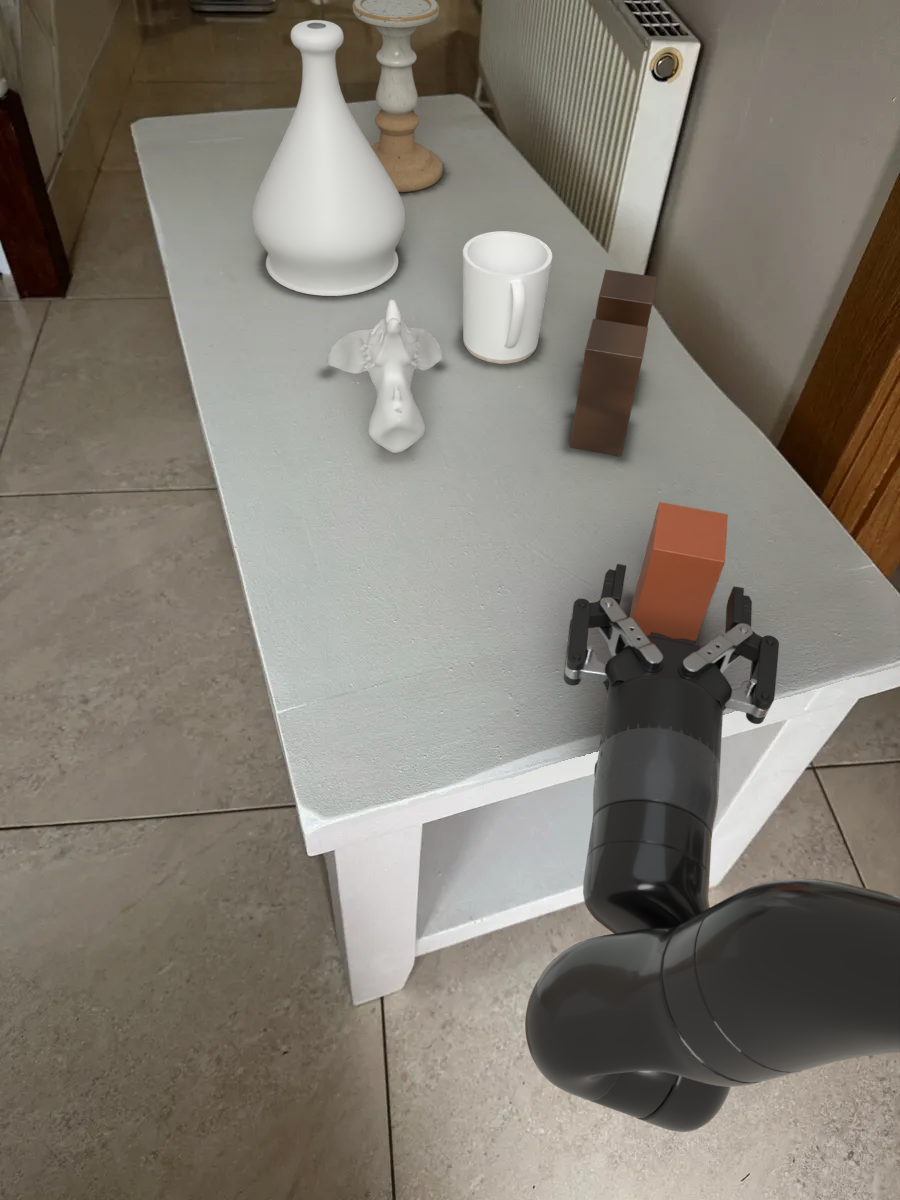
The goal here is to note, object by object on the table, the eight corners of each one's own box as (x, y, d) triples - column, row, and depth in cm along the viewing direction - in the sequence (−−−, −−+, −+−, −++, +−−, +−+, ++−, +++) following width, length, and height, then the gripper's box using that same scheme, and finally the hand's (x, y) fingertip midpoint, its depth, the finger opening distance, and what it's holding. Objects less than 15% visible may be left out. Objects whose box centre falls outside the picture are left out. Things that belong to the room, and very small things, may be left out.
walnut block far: (636, 373, 98) (657, 276, 89) (631, 401, 94) (652, 303, 86) (589, 365, 98) (605, 268, 90) (582, 392, 95) (598, 295, 87)
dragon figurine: (327, 389, 75) (317, 253, 79) (336, 488, 92) (327, 371, 96) (473, 381, 76) (455, 247, 80) (455, 480, 93) (441, 365, 97)
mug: (452, 322, 103) (455, 233, 95) (531, 317, 104) (541, 229, 96) (470, 381, 96) (475, 290, 88) (554, 375, 97) (567, 285, 89)
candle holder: (352, 152, 130) (345, -14, 115) (440, 153, 131) (444, -12, 116) (351, 193, 122) (343, 20, 107) (445, 193, 123) (450, 22, 108)
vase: (286, 314, 103) (259, 67, 84) (239, 241, 113) (205, 7, 94) (429, 282, 108) (433, 43, 89) (372, 215, 118) (364, -11, 100)
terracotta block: (693, 612, 76) (728, 513, 68) (689, 659, 73) (725, 562, 64) (632, 600, 76) (659, 501, 68) (625, 646, 73) (652, 548, 65)
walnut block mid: (626, 425, 92) (648, 326, 83) (621, 456, 88) (642, 357, 80) (576, 416, 92) (593, 318, 84) (569, 447, 89) (585, 348, 81)
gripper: (791, 760, 55) (790, 566, 65) (552, 709, 57) (588, 528, 67) (756, 821, 60) (760, 633, 71) (540, 773, 62) (575, 597, 73)
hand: (676, 582), depth 69 cm, fingers open, 8 cm apart
